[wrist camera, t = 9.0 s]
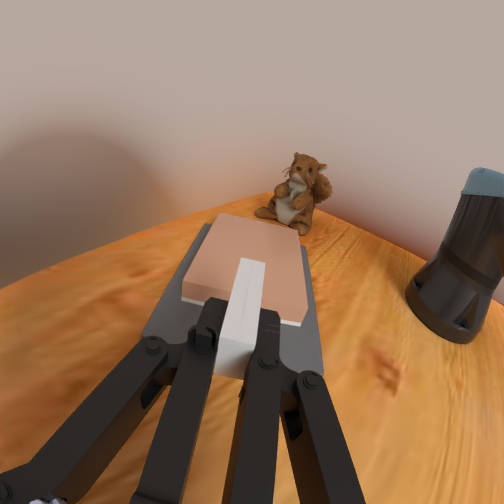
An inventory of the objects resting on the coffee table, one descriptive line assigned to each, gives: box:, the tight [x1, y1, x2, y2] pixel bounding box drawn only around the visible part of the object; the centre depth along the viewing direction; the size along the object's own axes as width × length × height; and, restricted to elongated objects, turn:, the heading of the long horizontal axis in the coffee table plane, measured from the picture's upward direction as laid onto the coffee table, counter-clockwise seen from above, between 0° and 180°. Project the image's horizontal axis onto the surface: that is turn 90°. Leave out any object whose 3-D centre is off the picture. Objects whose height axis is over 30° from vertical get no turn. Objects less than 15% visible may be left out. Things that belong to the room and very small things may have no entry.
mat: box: [141, 223, 324, 376], centre depth 32 cm, size 24×16×1 cm, turn 175°
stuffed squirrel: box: [255, 152, 332, 236], centre depth 49 cm, size 10×14×13 cm
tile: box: [181, 212, 308, 327], centre depth 33 cm, size 2×12×18 cm
